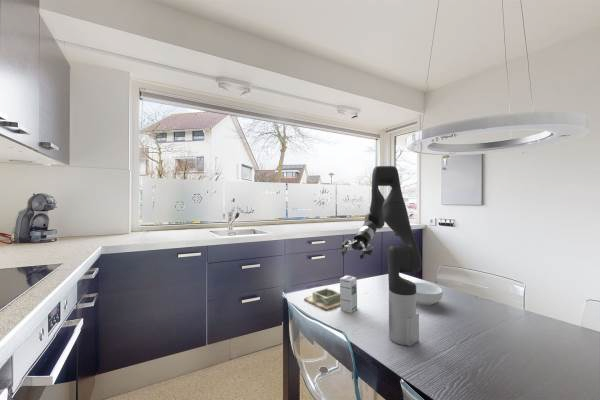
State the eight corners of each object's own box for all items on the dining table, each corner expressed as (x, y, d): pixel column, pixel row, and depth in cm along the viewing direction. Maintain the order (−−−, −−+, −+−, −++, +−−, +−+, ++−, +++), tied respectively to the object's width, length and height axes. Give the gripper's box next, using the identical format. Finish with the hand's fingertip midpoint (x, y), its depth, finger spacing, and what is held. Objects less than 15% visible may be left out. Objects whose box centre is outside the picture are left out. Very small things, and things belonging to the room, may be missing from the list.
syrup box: (351, 313, 116) (351, 280, 116) (339, 309, 120) (339, 277, 120) (357, 308, 121) (357, 277, 121) (345, 305, 125) (345, 274, 124)
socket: (350, 301, 129) (350, 293, 129) (326, 310, 119) (326, 302, 119) (327, 292, 141) (327, 285, 141) (304, 300, 132) (304, 292, 132)
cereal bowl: (451, 307, 122) (451, 291, 122) (420, 311, 118) (419, 295, 118) (425, 294, 138) (425, 280, 138) (397, 297, 134) (397, 283, 134)
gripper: (349, 228, 134) (336, 245, 122) (377, 232, 127) (366, 251, 115) (351, 240, 137) (338, 259, 125) (378, 245, 130) (367, 265, 118)
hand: (351, 255), depth 120 cm, fingers open, 8 cm apart
